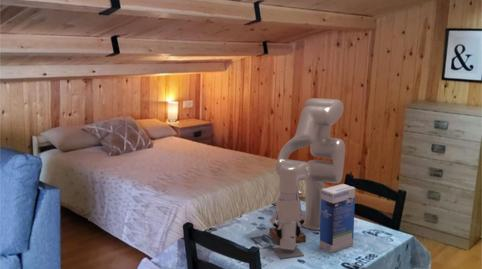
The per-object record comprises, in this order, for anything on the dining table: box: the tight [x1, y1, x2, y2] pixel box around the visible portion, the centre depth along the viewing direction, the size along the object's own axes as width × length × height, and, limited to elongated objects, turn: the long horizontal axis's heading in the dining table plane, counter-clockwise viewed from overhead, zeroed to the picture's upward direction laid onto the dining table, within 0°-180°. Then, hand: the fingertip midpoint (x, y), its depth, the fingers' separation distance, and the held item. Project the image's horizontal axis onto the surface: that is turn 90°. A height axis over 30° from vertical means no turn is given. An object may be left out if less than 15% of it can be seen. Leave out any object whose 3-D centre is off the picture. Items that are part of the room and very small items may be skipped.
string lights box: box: [319, 183, 356, 254], centre depth 203 cm, size 13×8×26 cm, turn 124°
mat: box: [272, 246, 305, 260], centre depth 200 cm, size 10×10×1 cm
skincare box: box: [279, 221, 297, 250], centre depth 198 cm, size 6×4×12 cm
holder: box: [268, 226, 307, 246], centre depth 214 cm, size 12×12×3 cm
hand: (288, 236), depth 198 cm, fingers closed on skincare box, 7 cm apart
